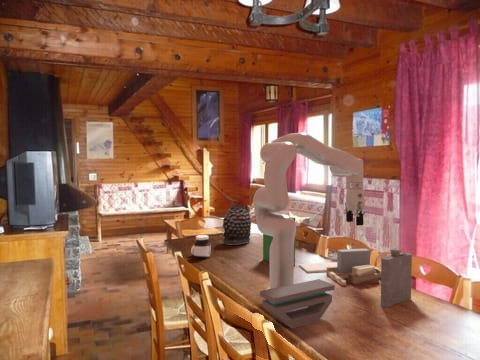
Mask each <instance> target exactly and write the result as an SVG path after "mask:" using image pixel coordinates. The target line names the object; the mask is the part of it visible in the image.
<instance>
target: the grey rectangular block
mask: <svg viewBox="0 0 480 360" xmlns="http://www.w3.org/2000/svg"><path fill="white" fill-rule="evenodd" d="M336 254H337V256H336V257H337V259H336V260H337V261H336V262H337V273H349V272H352V267H356V266H363V265H371V250H370V249H368V248H348V249H347V248H346V249H337V253H336Z"/></svg>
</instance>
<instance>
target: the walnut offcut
mask: <svg viewBox="0 0 480 360" xmlns="http://www.w3.org/2000/svg"><path fill="white" fill-rule="evenodd" d="M379 279H380V278H379V274H377V273H375V274H370V275H364V276H356V275H354V274H352V273H348V279H347V282H348V283H350V284H352V285H353V286H359V285H368V284H370V285H371V284H379V281H380V280H379Z"/></svg>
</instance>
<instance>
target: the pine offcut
mask: <svg viewBox="0 0 480 360" xmlns="http://www.w3.org/2000/svg"><path fill="white" fill-rule="evenodd" d="M371 265H372V264H370V265H363V266H356V267H352V274H354V275H356V276H364V275H370V274H375V267H376V266H375V265H373V266H371ZM374 266H375V267H374Z"/></svg>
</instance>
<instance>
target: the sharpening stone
mask: <svg viewBox="0 0 480 360" xmlns="http://www.w3.org/2000/svg"><path fill="white" fill-rule="evenodd" d="M335 288H336V287H335V284H333V283H330V282H328V281H325V280H322V279H319V278H317V279H312V280H308V281H303V282H298V283H294V284H292V285H288V286H283V287H278V288H273V289H268V290H266V289H264V290H260V291H259V297H261V298H263V299H264V300H262V308H263V309H264V310H265V311H267V312H268V313H269V314H270V315H271V316H272V317H273V318H275V320H277V321H278V322H280V323H281V324H283V325H285V326H287V327H288V328H290V329H294V328H298V327H302V326H306V325H309V324H312V323H316V322H319V321H320V320H321V319H322V317H323V316H324V314H325V313H326V311H327V310H328V308H329V307H330V306H331V304H332V303H333V295H332V294H331V293H328V292H331V291H335Z"/></svg>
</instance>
